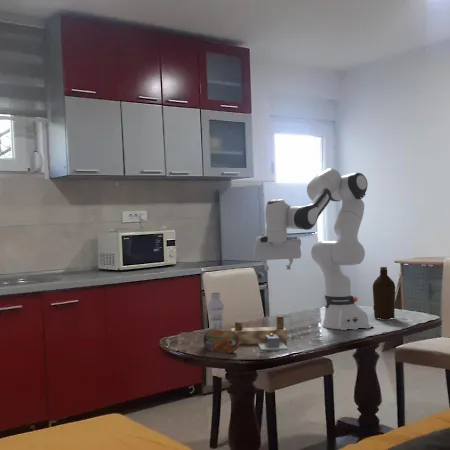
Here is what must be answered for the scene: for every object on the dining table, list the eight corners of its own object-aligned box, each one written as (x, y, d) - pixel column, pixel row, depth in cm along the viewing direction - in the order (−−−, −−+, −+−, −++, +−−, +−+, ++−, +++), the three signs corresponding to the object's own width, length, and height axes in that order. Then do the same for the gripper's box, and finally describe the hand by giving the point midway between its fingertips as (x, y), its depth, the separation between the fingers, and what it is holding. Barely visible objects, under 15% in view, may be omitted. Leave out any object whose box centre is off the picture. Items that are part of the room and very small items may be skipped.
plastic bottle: (228, 341, 237) (227, 292, 236) (216, 344, 231) (215, 294, 231) (216, 339, 241) (215, 291, 240) (205, 342, 236) (204, 293, 235)
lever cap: (279, 347, 222) (279, 336, 222) (268, 347, 222) (267, 336, 222) (276, 343, 229) (276, 332, 229) (265, 343, 229) (265, 332, 229)
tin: (203, 350, 223) (202, 328, 223) (208, 348, 226) (207, 326, 226) (236, 354, 215) (235, 332, 215) (240, 353, 217) (240, 330, 217)
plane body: (283, 338, 241) (283, 314, 241) (286, 342, 234) (286, 317, 234) (230, 340, 239) (230, 316, 239) (232, 344, 232) (231, 319, 232)
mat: (282, 343, 231) (282, 342, 231) (287, 349, 221) (287, 347, 221) (257, 344, 230) (257, 343, 230) (261, 350, 220) (261, 348, 220)
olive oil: (399, 318, 282) (399, 266, 281) (388, 321, 275) (387, 268, 274) (380, 315, 290) (380, 265, 289) (368, 318, 282) (368, 267, 282)
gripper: (299, 236, 250) (300, 268, 251) (252, 238, 248) (253, 270, 249) (302, 236, 244) (303, 269, 244) (254, 238, 242) (255, 271, 243)
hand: (277, 270), depth 247 cm, fingers open, 8 cm apart
